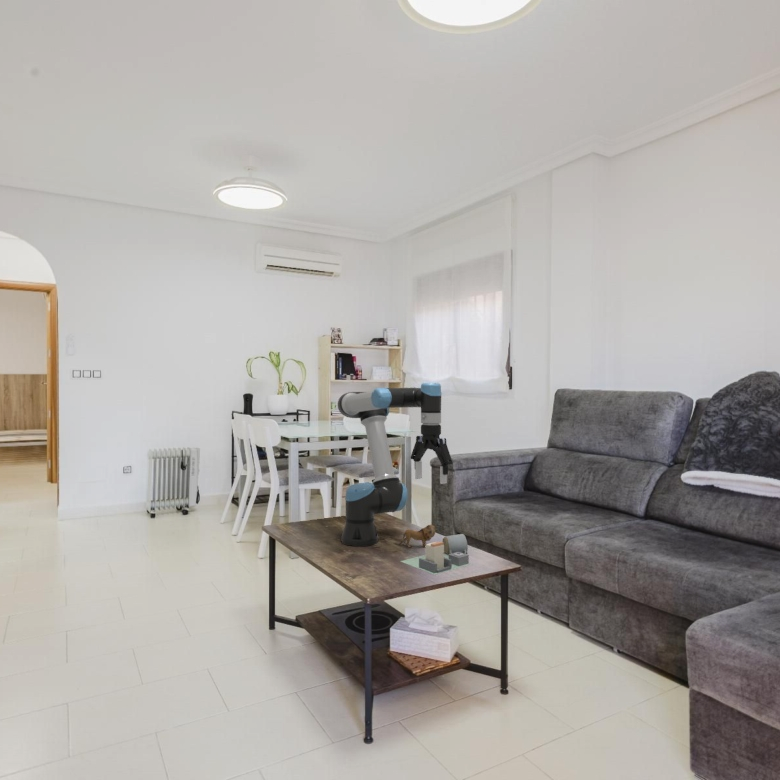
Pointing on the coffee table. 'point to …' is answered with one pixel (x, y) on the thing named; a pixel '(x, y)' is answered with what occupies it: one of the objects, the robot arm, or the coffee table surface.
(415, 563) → the board
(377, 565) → the coffee table surface
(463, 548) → the ceramic mug
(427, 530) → the lion figurine
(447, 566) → the header
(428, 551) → the plug
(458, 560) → the fan
